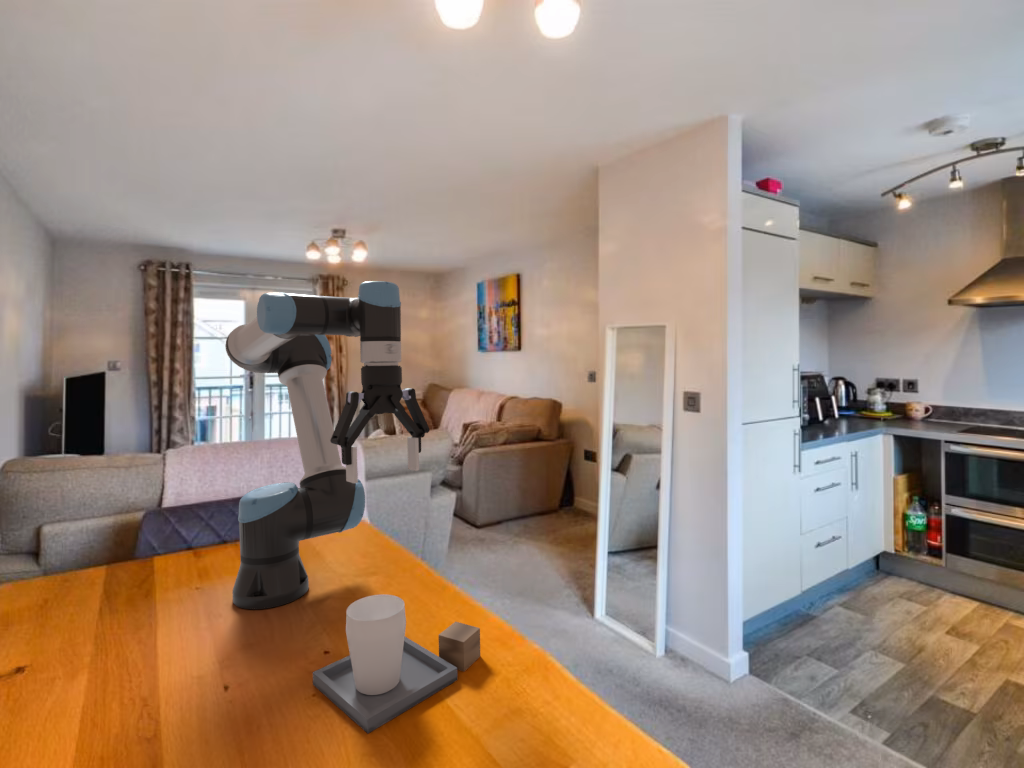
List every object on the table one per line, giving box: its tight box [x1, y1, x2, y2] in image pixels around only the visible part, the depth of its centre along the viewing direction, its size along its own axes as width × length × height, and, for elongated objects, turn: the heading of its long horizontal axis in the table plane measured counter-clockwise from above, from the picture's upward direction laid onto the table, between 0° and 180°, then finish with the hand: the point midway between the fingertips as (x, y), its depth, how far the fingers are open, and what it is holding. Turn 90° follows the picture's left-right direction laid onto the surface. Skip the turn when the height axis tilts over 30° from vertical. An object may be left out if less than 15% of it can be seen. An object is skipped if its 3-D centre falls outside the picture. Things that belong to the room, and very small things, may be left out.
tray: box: [312, 636, 458, 734], centre depth 82 cm, size 16×16×2 cm
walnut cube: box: [438, 621, 481, 673], centre depth 88 cm, size 5×5×5 cm
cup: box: [345, 594, 407, 695], centre depth 81 cm, size 9×9×12 cm
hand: (384, 475), depth 100 cm, fingers open, 13 cm apart
